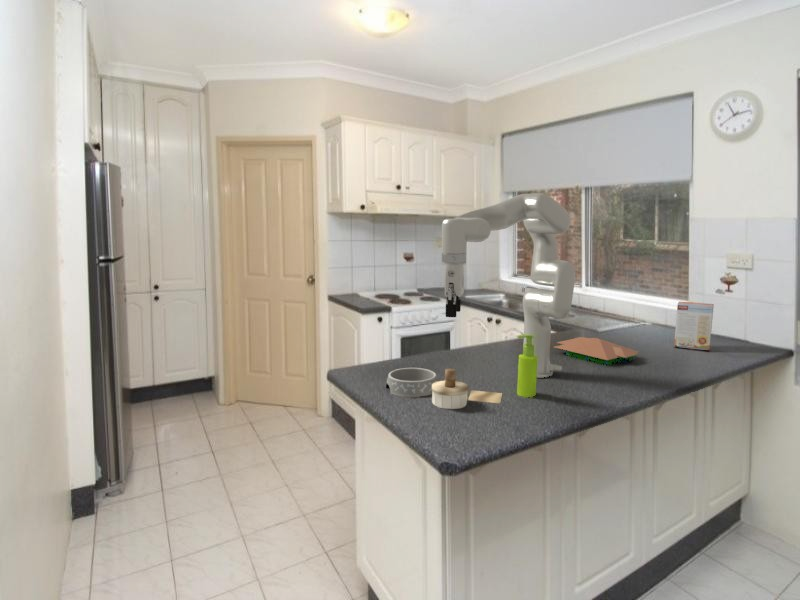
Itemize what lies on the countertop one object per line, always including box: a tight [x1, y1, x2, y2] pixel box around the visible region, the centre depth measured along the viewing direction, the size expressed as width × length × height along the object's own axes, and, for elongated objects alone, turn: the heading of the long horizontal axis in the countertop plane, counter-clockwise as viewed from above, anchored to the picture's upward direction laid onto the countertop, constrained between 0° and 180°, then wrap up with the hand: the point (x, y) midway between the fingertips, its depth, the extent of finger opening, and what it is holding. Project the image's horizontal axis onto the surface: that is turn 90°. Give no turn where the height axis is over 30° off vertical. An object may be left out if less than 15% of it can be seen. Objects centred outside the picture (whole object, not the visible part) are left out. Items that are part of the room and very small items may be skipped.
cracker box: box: [673, 301, 715, 349], centre depth 231 cm, size 14×6×21 cm, turn 58°
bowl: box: [431, 391, 468, 410], centre depth 157 cm, size 10×10×4 cm
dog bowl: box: [385, 367, 438, 399], centre depth 172 cm, size 17×18×5 cm
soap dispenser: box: [516, 333, 538, 398], centre depth 165 cm, size 6×7×20 cm
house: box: [553, 336, 640, 365], centre depth 218 cm, size 23×33×8 cm
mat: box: [467, 389, 503, 405], centre depth 164 cm, size 10×10×1 cm
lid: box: [432, 368, 470, 396], centre depth 156 cm, size 11×11×6 cm
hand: (453, 314), depth 160 cm, fingers open, 9 cm apart
